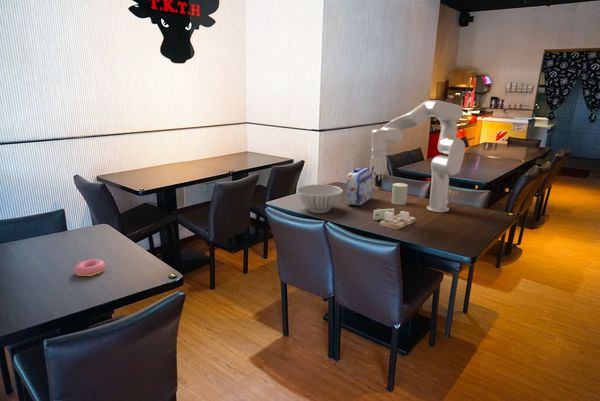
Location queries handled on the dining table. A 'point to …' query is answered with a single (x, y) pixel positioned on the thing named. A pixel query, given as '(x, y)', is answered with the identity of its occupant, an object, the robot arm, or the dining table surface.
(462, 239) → the dining table surface
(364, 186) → the lunch box
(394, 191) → the can
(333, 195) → the decorative bowl
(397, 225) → the console board
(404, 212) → the fader
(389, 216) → the fader
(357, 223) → the dining table surface
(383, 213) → the rack door
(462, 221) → the dining table surface
